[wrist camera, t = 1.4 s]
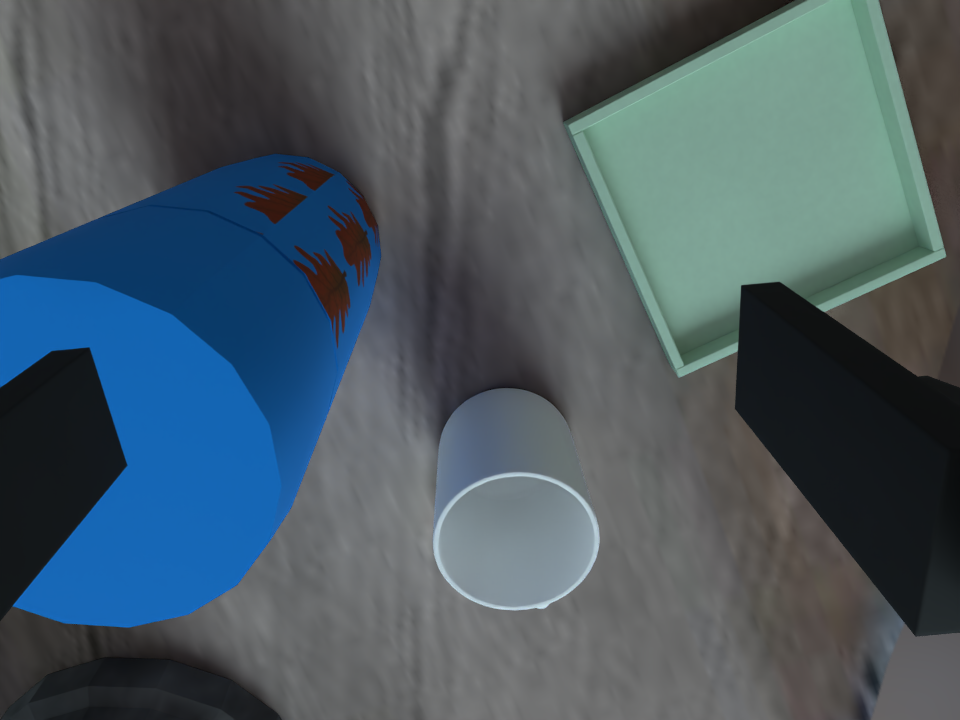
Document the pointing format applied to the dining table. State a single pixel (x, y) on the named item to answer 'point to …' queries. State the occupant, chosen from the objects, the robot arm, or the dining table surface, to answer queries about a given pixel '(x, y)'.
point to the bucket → (137, 694)
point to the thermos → (195, 372)
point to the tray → (762, 173)
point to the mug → (512, 503)
